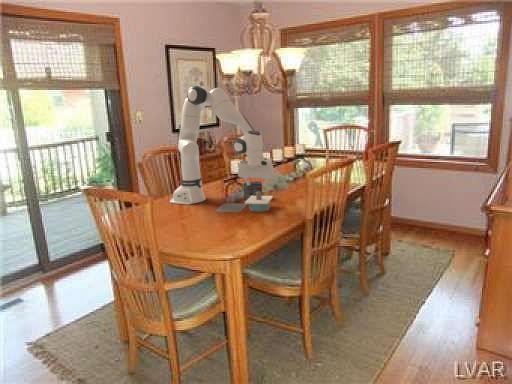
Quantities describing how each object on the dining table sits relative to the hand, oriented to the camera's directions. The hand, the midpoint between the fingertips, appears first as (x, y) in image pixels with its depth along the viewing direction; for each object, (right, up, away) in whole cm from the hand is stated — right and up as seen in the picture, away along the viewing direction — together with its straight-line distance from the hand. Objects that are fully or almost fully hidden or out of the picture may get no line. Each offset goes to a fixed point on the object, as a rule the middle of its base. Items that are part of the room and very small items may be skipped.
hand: (256, 185), depth 220 cm
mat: (-14, -13, +9) cm, 22 cm away
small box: (-2, -8, +24) cm, 26 cm away
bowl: (+2, -13, +4) cm, 14 cm away
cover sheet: (+1, -8, +3) cm, 9 cm away
